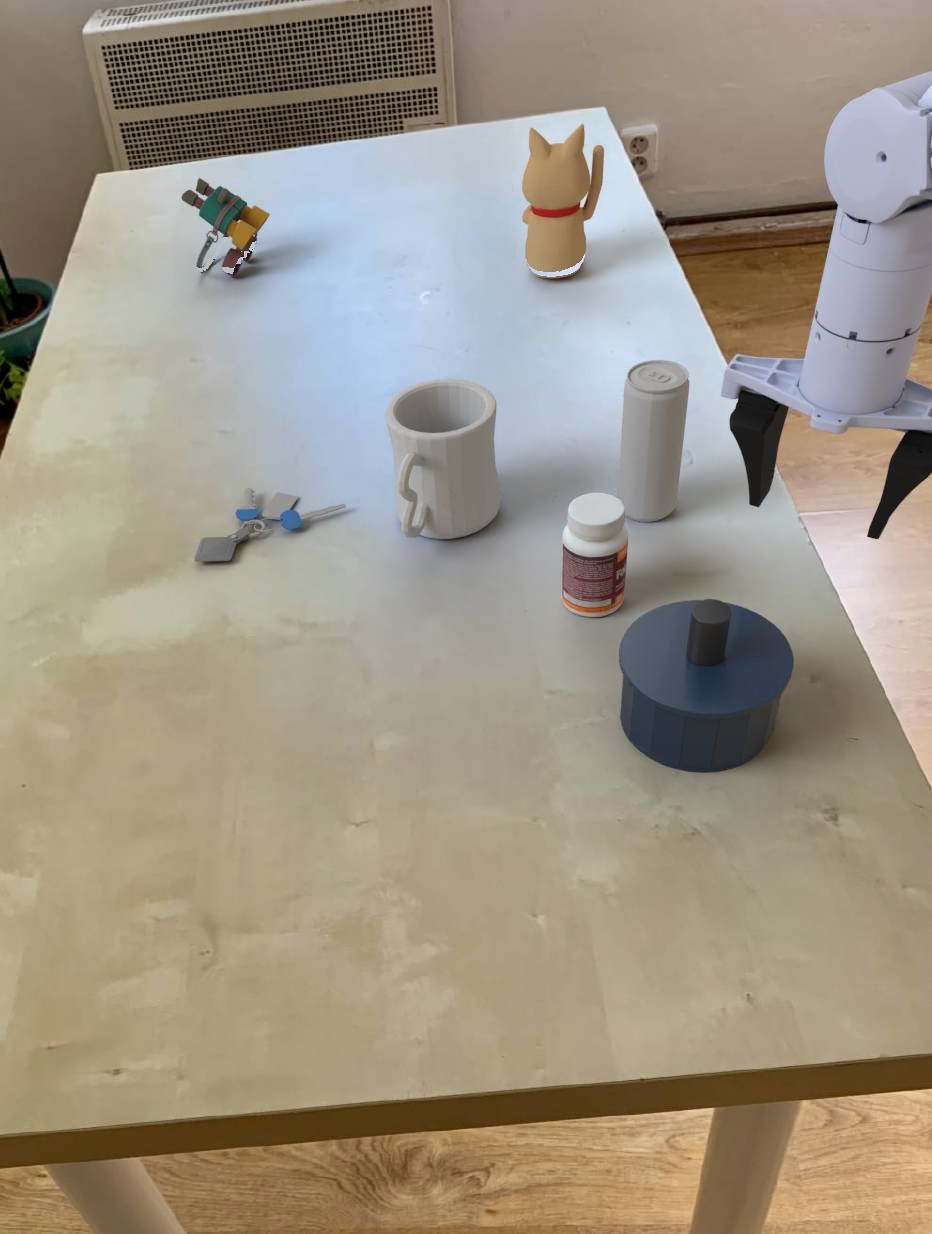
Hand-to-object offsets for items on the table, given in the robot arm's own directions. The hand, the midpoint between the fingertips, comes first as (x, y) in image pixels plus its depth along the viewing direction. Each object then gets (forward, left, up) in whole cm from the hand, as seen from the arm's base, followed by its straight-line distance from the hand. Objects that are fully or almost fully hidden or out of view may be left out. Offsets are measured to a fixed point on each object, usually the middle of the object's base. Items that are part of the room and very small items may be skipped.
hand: (816, 513), depth 71 cm
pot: (-2, +11, -10) cm, 15 cm away
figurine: (+58, -27, -11) cm, 65 cm away
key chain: (+39, +23, -11) cm, 47 cm away
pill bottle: (+12, +8, -11) cm, 18 cm away
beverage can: (+18, -3, -11) cm, 21 cm away
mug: (+28, +11, -11) cm, 32 cm away
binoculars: (+87, -1, -11) cm, 88 cm away
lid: (-2, +11, -5) cm, 12 cm away
